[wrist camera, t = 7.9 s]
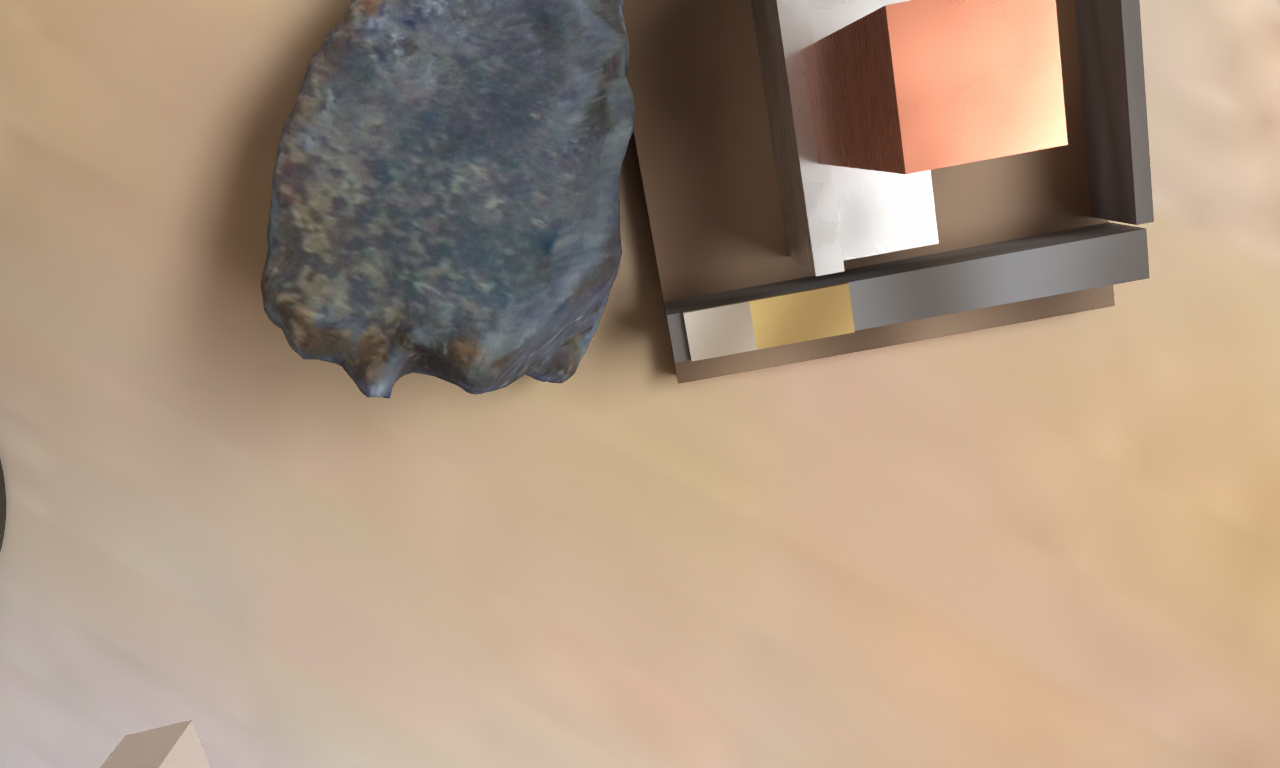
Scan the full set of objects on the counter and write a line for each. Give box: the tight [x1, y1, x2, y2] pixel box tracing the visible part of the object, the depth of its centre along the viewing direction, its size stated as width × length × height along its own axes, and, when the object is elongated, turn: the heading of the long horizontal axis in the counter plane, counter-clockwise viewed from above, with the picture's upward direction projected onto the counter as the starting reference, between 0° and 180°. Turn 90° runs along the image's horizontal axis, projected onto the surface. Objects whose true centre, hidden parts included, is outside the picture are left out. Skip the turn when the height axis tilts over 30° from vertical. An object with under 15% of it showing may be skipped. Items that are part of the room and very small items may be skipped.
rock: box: [261, 0, 635, 398], centre depth 32 cm, size 16×8×10 cm
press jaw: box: [751, 0, 1068, 276], centre depth 26 cm, size 4×9×14 cm, turn 10°
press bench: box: [623, 0, 1154, 383], centre depth 31 cm, size 14×16×4 cm
